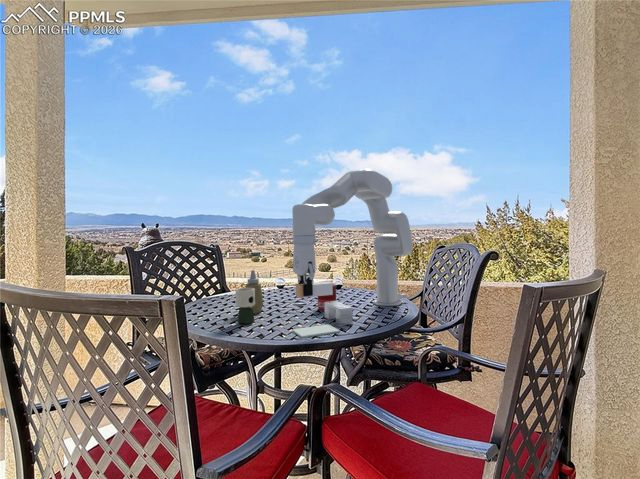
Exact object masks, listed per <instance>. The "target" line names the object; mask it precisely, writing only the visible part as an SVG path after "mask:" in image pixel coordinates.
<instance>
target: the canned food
mask: <svg viewBox="0 0 640 479" xmlns="http://www.w3.org/2000/svg"><path fill="white" fill-rule="evenodd" d="M331 283H332V284H333V295H325V296H317V309H318V310H319V311H321V310H322V311H321V312H325V305H324V302H330V301H337V283H334V282H331Z"/></svg>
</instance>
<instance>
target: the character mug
mask: <svg viewBox="0 0 640 479" xmlns="http://www.w3.org/2000/svg"><path fill="white" fill-rule="evenodd" d="M254 305H255V289H254V288H245V287H241V288H236V289H235V307H238V312H237V314H238V315H237V323H238V324H243V325H246V324H253V323H254V321H255V314H253V309H252V306H254Z"/></svg>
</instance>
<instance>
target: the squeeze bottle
mask: <svg viewBox="0 0 640 479" xmlns="http://www.w3.org/2000/svg"><path fill="white" fill-rule="evenodd" d="M256 276H257V275H256V273H255V270H253V269H252V270H251V272H250V276H249V277H250V278H248V279H247V284H246V285H245V287H244V288H254V289H255V305H254V306H252V309H253V314H254V315H256V314H259V313H262V310H263V307H264V298H263V291H262V290H263V289H262V285H261V283H259V282H260V281H259V280H260V279H259V278H257V277H256Z"/></svg>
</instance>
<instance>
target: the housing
mask: <svg viewBox="0 0 640 479" xmlns="http://www.w3.org/2000/svg"><path fill="white" fill-rule="evenodd" d="M324 305H325V311H324V318H325V319H327V320H335V324H337V325H338V326H347V325H353V324H354V320H353V319H354V315H353V314H354V313H353V312H354V311H353V307H352V306H350V305H347V304H345V303H342V302H340V301H337V300H336V301H330V302H324ZM335 318H336V319H335Z"/></svg>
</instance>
